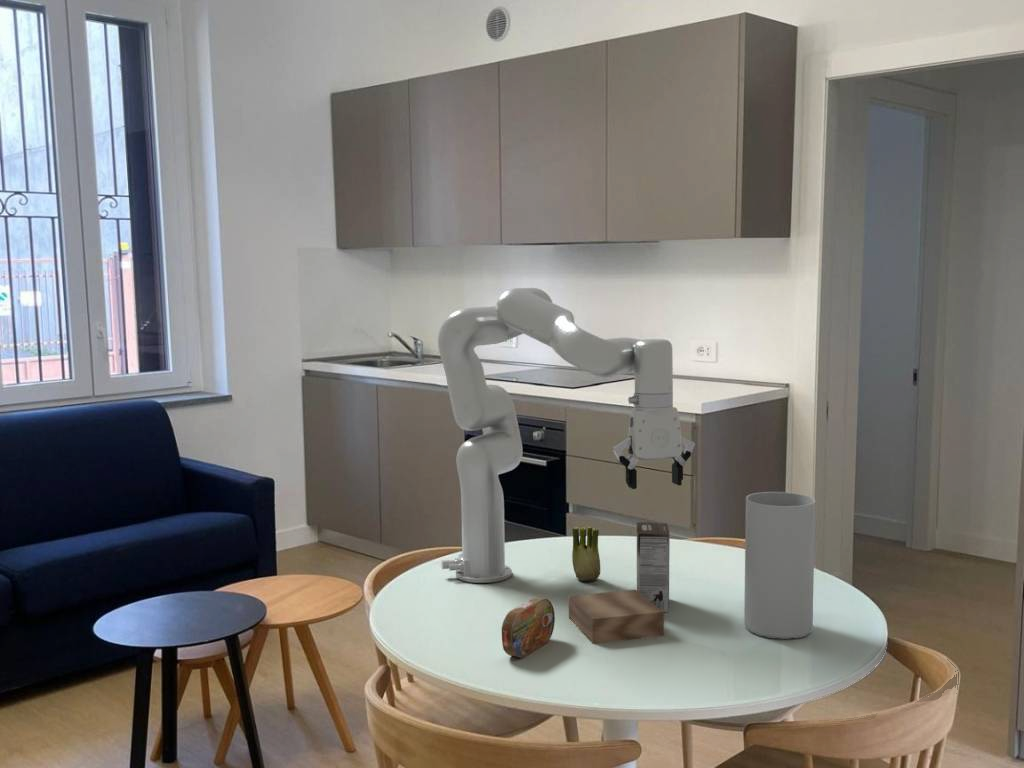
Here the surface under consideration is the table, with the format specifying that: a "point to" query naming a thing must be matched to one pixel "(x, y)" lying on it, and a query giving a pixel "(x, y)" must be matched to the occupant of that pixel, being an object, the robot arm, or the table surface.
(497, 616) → the table surface
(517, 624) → the tin
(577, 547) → the fennel bulb
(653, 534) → the coffee box
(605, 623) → the walnut block
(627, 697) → the table surface
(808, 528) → the cylinder vase
